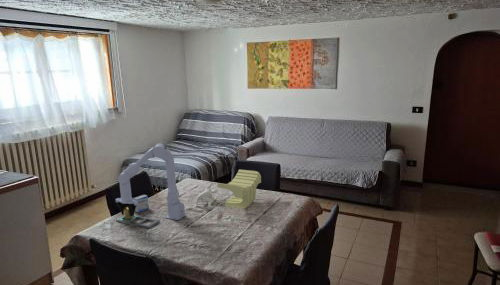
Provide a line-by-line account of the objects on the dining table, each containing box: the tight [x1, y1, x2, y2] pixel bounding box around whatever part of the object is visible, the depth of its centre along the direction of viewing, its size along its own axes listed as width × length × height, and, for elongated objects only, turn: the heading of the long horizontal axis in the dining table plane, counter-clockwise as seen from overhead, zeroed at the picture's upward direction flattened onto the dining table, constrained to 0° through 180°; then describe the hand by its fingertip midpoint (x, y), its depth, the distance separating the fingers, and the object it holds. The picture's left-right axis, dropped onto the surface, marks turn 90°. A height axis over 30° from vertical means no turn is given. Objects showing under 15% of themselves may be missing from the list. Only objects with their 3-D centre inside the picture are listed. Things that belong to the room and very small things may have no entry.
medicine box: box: [132, 194, 150, 214], centre depth 208 cm, size 8×4×9 cm, turn 143°
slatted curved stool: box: [216, 169, 262, 210], centre depth 214 cm, size 30×16×18 cm, turn 156°
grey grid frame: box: [115, 214, 161, 230], centre depth 192 cm, size 24×9×1 cm, turn 65°
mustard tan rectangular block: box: [122, 206, 133, 221], centre depth 194 cm, size 4×4×6 cm
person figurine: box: [193, 181, 220, 209], centre depth 217 cm, size 13×13×18 cm
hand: (128, 215), depth 195 cm, fingers closed on mustard tan rectangular block, 5 cm apart
